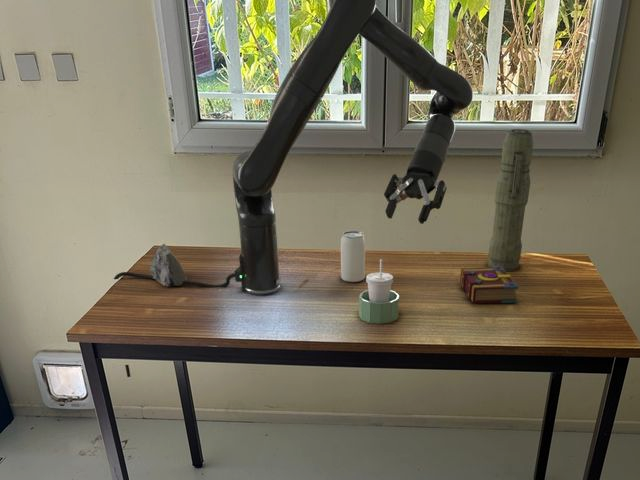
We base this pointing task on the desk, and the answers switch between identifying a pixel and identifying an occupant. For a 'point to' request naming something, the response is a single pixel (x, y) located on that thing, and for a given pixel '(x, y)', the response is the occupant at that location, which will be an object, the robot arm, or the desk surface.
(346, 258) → the can
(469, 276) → the decorative book
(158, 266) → the mineral rock
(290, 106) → the robot arm
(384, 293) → the smoothie
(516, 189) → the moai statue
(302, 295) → the desk surface
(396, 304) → the holder
